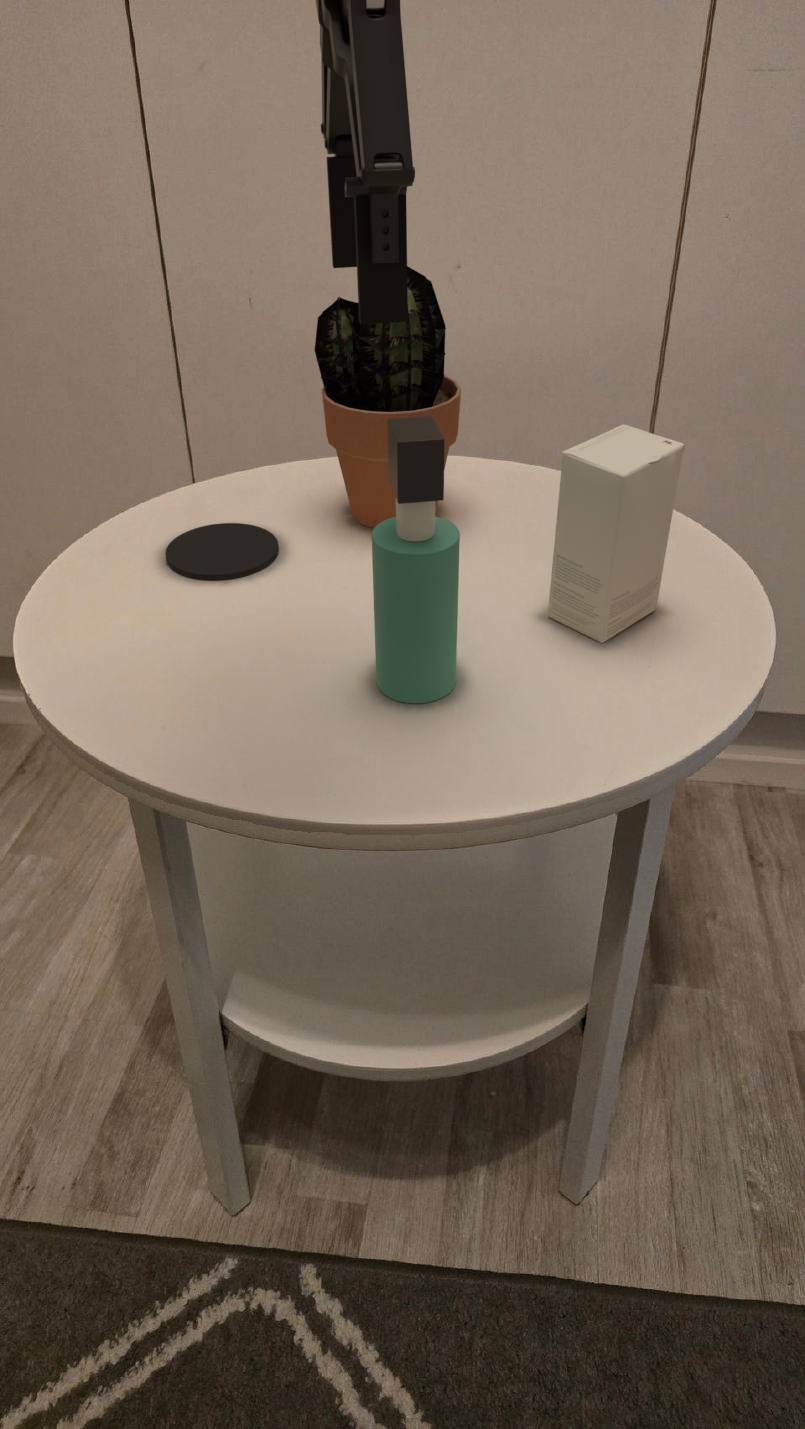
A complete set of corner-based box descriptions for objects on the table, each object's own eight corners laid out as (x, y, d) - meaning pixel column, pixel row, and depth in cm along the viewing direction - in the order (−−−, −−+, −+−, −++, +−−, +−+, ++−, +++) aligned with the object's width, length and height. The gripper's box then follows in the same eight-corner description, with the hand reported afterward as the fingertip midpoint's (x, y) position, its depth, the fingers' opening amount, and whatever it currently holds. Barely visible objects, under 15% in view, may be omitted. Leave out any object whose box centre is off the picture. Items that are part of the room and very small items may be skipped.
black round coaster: (164, 585, 92) (163, 579, 92) (167, 532, 101) (166, 527, 100) (282, 574, 93) (281, 569, 93) (275, 524, 102) (274, 518, 102)
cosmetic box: (603, 585, 91) (623, 421, 82) (662, 612, 87) (691, 442, 78) (543, 618, 87) (558, 447, 77) (603, 647, 83) (626, 472, 73)
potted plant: (432, 478, 111) (434, 237, 96) (477, 530, 100) (487, 267, 85) (315, 496, 108) (298, 248, 93) (348, 550, 97) (335, 281, 82)
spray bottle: (463, 699, 77) (471, 442, 64) (382, 707, 76) (375, 449, 64) (444, 648, 83) (449, 404, 70) (369, 655, 82) (360, 410, 70)
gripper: (482, -198, 39) (469, 346, 52) (386, -140, 59) (394, 245, 72) (294, -198, 38) (328, 356, 51) (260, -139, 58) (291, 250, 71)
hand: (366, 292), depth 61 cm, fingers open, 13 cm apart
